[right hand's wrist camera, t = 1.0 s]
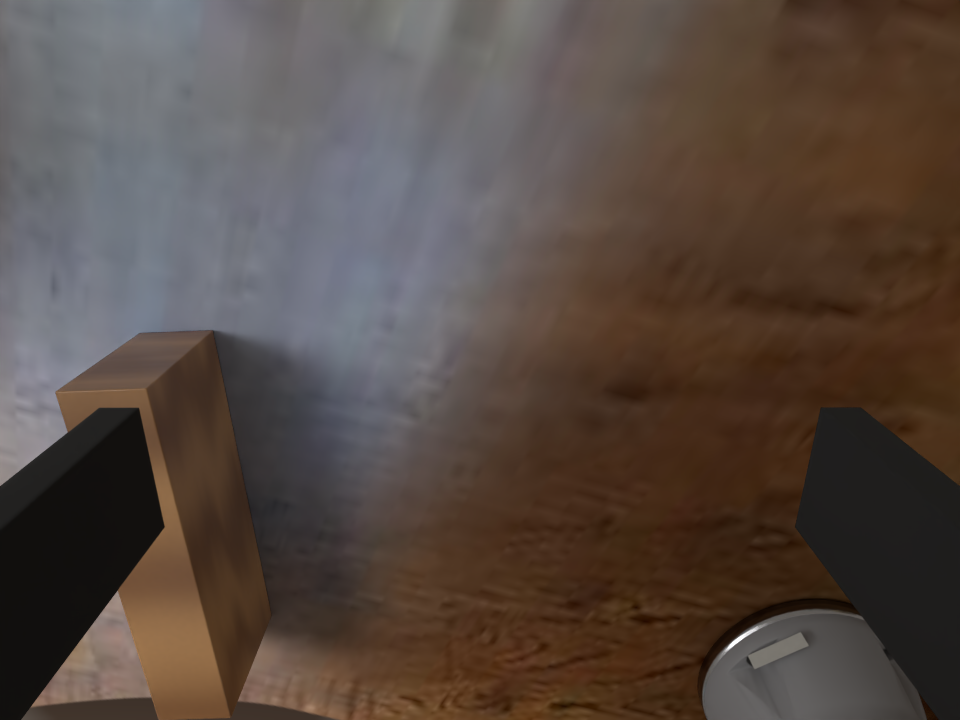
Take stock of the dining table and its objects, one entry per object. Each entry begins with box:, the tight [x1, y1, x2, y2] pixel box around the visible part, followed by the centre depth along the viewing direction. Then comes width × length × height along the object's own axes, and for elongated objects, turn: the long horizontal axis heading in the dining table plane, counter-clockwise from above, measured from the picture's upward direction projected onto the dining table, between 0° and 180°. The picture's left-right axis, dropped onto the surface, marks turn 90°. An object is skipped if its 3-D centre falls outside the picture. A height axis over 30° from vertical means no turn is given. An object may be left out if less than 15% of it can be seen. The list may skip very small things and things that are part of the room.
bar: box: [56, 330, 272, 720], centre depth 40 cm, size 23×5×9 cm, turn 2°
